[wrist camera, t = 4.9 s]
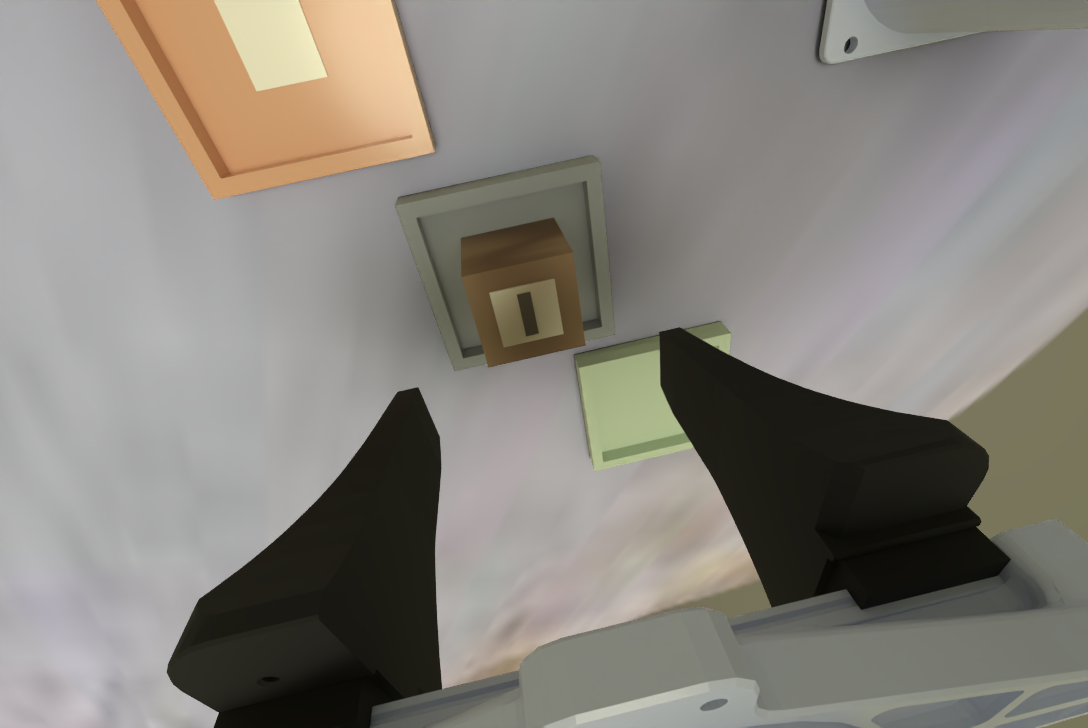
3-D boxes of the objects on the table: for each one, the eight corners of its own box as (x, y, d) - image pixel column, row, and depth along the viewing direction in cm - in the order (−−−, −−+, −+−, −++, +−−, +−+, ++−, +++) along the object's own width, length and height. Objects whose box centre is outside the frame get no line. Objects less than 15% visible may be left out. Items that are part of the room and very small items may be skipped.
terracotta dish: (347, -164, 13) (338, -182, 12) (435, 146, 17) (434, 152, 16) (58, -108, 12) (24, -121, 11) (228, 190, 17) (214, 199, 16)
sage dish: (720, 321, 24) (731, 333, 23) (712, 428, 29) (720, 441, 28) (574, 354, 24) (578, 367, 23) (590, 456, 28) (594, 470, 28)
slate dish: (592, 155, 18) (600, 161, 17) (608, 322, 23) (615, 334, 22) (398, 197, 18) (395, 205, 17) (454, 357, 23) (454, 371, 22)
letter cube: (553, 217, 19) (573, 253, 16) (566, 300, 21) (586, 347, 18) (460, 237, 19) (461, 278, 16) (484, 318, 21) (488, 368, 18)
